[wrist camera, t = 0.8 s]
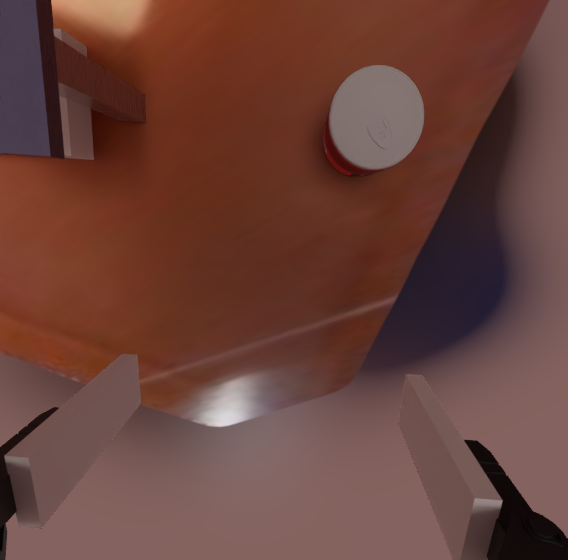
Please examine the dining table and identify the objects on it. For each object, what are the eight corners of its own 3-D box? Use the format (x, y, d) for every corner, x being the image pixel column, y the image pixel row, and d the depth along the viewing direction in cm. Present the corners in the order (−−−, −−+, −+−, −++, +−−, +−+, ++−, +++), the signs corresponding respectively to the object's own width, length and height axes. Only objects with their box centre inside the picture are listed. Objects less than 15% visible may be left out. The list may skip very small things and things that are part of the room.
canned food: (354, 191, 39) (372, 189, 28) (307, 140, 38) (308, 117, 27) (406, 142, 37) (446, 119, 26) (358, 87, 36) (380, 40, 25)
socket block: (-33, 40, 37) (-72, 21, 34) (86, 46, 37) (60, 28, 33) (-17, 152, 40) (-51, 147, 37) (94, 159, 40) (71, 155, 36)
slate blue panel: (55, 34, 37) (-118, -79, 22) (143, 39, 36) (28, -73, 21) (66, 166, 40) (-76, 147, 25) (146, 172, 40) (50, 156, 25)
